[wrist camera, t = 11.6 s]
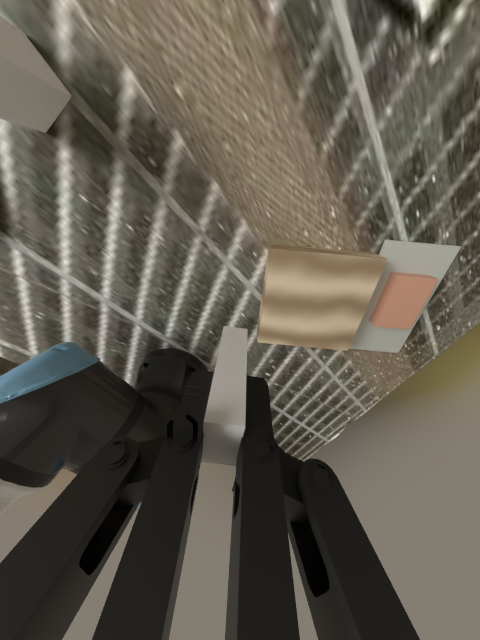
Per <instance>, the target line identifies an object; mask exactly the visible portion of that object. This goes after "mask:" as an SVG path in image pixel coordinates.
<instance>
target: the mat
mask: <svg viewBox="0 0 480 640" xmlns="http://www.w3.org/2000/svg"><path fill="white" fill-rule="evenodd" d="M460 248H461V247H460V246H451V245H440V244H429V243H418V242H407V241H396V240H385V241H384V243H383V246H382V248H381V251H380V253H379V255H380V256H382V257H384V258H387V259H388V260H387V262H386V264H385V267H384V269H383V271H382V273H381V276H380V278H379V280H378V283H377V285H376V287H375V290H374V292H373V294H372V297H371V299H370V301H369V304H368V306H367V308H366V311H365V313H364V315H363V317H362V320H361V322H360V324H359V327H358V329H357V331H356V334H355V336H354V338H353V341H352V343H351V345H350V349H361V350H372V351H382V352H393V353H399V351H400V350H401V348H402V346H403V345H404V343H405V341H406V339H407V338H408V336H409V334H410V333H411V331H412V329H413V328H414V326H415V324H416V323H417V321H418V319H419V317H420V316H421V314H422V312H423V311H424V309H425V307H426V306H427V304H428V302H429V301H430V299H431V297H432V295H433V294H434V292H435V290H436V289H437V287H438V285H439V284H440V282H441V280H442V279H443V277H444V275H445V274H446V272H447V270H448V268H449V267H450V265H451V263H452V262H453V260H454V258H455V257H456V255H457V253H458V252H459V250H460ZM391 272H401V273H412V274H423V275H430V276H433V277H435V278H437V279H439V280H438V282H437V284H436V285H435V287H434V289H433V290H432V292H431V294H430V296H429V297H428V299H427V301H426V302H425V304H424V306H423V308H422V309H421V311H420V313H419V314H418V316H417V318H416V320H415V321H414V323H413V325H412V327H411V328H410V330H409V329H398V328H387V327H376V326H374V325H373V324H372V323H371V322H370V321H369V320H370V317H371V315H372V313H373V311H374V309H375V306H376V304H377V302H378V300H379V297H380V295H381V293H382V291H383V289H384V286H385V284H386V282H387V280H388V278H389V275H390V273H391Z"/></svg>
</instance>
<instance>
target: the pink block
mask: <svg viewBox="0 0 480 640" xmlns="http://www.w3.org/2000/svg"><path fill="white" fill-rule="evenodd" d="M438 280H439V279H437V278H435V277H433V276H430V275H423V274H412V273H401V272H391V273H390V275H389V278H388V280H387V282H386V284H385V286H384V289H383V291H382V293H381V295H380V297H379V300H378V302H377V304H376V306H375V309H374V311H373V313H372V315H371V317H370V320H369V321H370V322H371V323H372V324H373V325H374V326H376V327H387V328H398V329H409V330H410V328H411V327H412V325H413V323H414V321H415V320H416V318H417V316H418V314H419V313H420V311H421V309H422V308H423V306H424V304H425V302H426V301H427V299H428V297H429V296H430V294H431V292H432V290H433V289H434V287H435V285H436V284H437V282H438Z"/></svg>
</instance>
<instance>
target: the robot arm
mask: <svg viewBox="0 0 480 640" xmlns="http://www.w3.org/2000/svg"><path fill="white" fill-rule="evenodd" d="M99 360H100V358H98V357H95V356H93V355H92V354H90V353H89V352H88V351H86V350H85V349H84V348H82V347H81V346H79V345H78V344H75V343H72V342H64V343H60V344H57V345H55V346H53V347H51V348H49V349H48V350H46V351H44V352H42V353H41V354H39V355H37V356H35V357H33V358H32V359H30V360H28V361H26V362H25V363H23V364H21V365H19V366H18V367H16V368H14V369H12V370H11V371H9V372H7V373H5V374H4V375H2V376H0V516H1V514H3V513H4V511H5V510H6V509H7V508H8V507H9V506H10V505H11V504H12V503H13V502H14V501H15V500H16V499H17V498H19V497H21V496H24V495H27V494H30V493H33V492H37V491H40V490H42V489H44V488H45V487H46V486H47V485H48V484H49V483H50V482H51V481H52V480H53V479H54V478H55V476H56V475H57V474H58V473H59V472H60V471H61V470H62V469H67V470H69V471H71V472H73V473H75V474H77V476H76V477H75V478H74V479H73V480H72V482H71V483H70V484H69V485H68V486H67V487H66V489H65V490H64V491H63V492H62V493H61V494H60V495H59V497H58V498H57V499H56V500H55V501H54V502H53V503H52V505H51V506H50V507H49V508H48V509H47V510H46V512H45V513H44V514H43V515H42V516H41V517H40V518H39V519H38V521H37V522H36V523H35V524H34V525H33V526H32V527H31V529H30V530H29V531H28V532H27V533H26V534H25V536H24V537H23V538H22V539H21V540H20V541H19V543H18V544H17V545H16V546H15V547H14V548H13V550H11V552H10V553H9V554H8V555H7V556H6V557H5V559H4V560H3V561H2V562H1V563H0V640H62V638H63V637H64V635H65V633H66V631H67V630H68V628H69V626H70V624H71V623H72V621H73V619H74V617H75V615H76V614H77V612H78V610H79V609H80V607H81V605H82V603H83V602H84V600H85V598H86V596H87V595H88V593H89V591H90V589H91V588H92V586H93V584H94V582H95V581H96V579H97V577H98V575H99V574H100V572H101V570H102V568H103V567H104V565H105V563H106V561H107V560H108V558H109V556H110V554H111V552H112V551H113V549H114V547H115V546H116V544H117V542H118V540H119V539H120V537H121V535H122V533H123V532H124V530H125V528H126V526H127V525H128V523H129V521H130V519H131V518H132V516H133V514H134V512H135V511H136V509H139V511H138V514H137V516H136V519H135V522H134V525H133V527H132V530H131V533H130V536H129V538H128V541H127V544H126V547H125V549H124V552H123V555H122V558H121V561H120V563H119V566H118V569H117V572H116V574H115V577H114V580H113V583H112V586H111V589H110V591H109V594H108V597H107V600H106V602H105V605H104V608H103V611H102V613H101V616H100V619H99V622H98V625H97V627H96V630H95V633H94V636H93V638H92V640H169V634H170V629H171V623H172V618H173V613H174V608H175V602H176V596H177V591H178V585H179V581H180V575H181V570H182V564H183V559H184V553H185V548H186V543H187V537H188V532H189V526H190V520H191V515H192V510H193V505H194V499H195V494H196V489H197V483H198V475H199V469H200V463H201V462H209V463H218V464H226V465H235V466H236V477H235V481H234V485H233V489H232V491H233V492H234V496H233V513H232V530H231V548H230V565H229V581H228V598H227V615H226V633H225V640H300V637H299V629H298V619H297V610H296V601H295V593H294V584H293V575H292V566H291V557H290V548H289V540H288V533H289V537H290V541H291V544H292V548H293V551H294V555H295V558H296V562H297V565H298V569H299V573H300V576H301V580H302V583H303V587H304V590H305V594H306V597H307V601H308V604H309V608H310V612H311V615H312V618H313V622H314V626H315V629H316V633H317V637H318V640H420V639H419V637H418V635H417V633H416V631H415V629H414V627H413V626H412V624H411V621H410V619H409V617H408V615H407V613H406V611H405V609H404V607H403V606H402V603H401V602H400V599H399V598H398V596H397V594H396V592H395V590H394V588H393V586H392V584H391V582H390V580H389V578H388V576H387V574H386V572H385V570H384V568H383V566H382V564H381V562H380V560H379V558H378V556H377V554H376V552H375V550H374V548H373V547H372V545H371V543H370V541H369V539H368V537H367V535H366V533H365V531H364V529H363V527H362V525H361V523H360V521H359V519H358V517H357V515H356V513H355V511H354V509H353V507H352V505H351V503H350V501H349V499H348V497H347V495H346V494H345V492H344V490H343V488H342V486H341V484H340V482H339V480H338V478H337V476H336V475H335V473H334V472H333V470H332V469H331V468H330V467H329V466H328V465H327V464H326V463H324V462H322V461H320V460H318V459H308V460H306V461H305V462H303V461H300V460H298V459H296V458H294V457H292V456H290V455H288V454H287V453H285V452H284V451H283V450H282V449H281V448H280V447H279V446H278V445H277V443H276V441H275V439H274V436H273V429H272V419H271V409H270V399H269V389H268V385H267V383H266V381H265V380H264V378H260V377H252V376H246V371H247V329H242V328H235V327H228V326H224V328H223V333H222V338H221V342H220V347H219V352H218V356H217V361H216V366H215V371H214V372H209V371H207V370H206V368H205V367H204V365H203V364H202V363H201V362H200V361H199V360H198V359H197V358H196V357H194V356H192V355H191V354H189V353H187V352H184V351H181V350H177V349H160V350H156V351H154V352H152V353H150V354H149V355H147V356H146V358H145V359H144V360H143V362H142V363H141V365H140V367H139V369H138V372H137V377H136V382H135V387H134V388H133V387H131V386H130V385H129V384H128V383H127V382H125V381H124V380H123V379H122V378H120V377H119V376H118V375H117V374H115V373H114V372H113V371H112V370H110V369H109V368H108V367H107V366H106V365H104V364H103V363H102V362H101V361H99ZM236 463H237V465H236Z"/></svg>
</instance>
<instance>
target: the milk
mask: <svg viewBox="0 0 480 640" xmlns="http://www.w3.org/2000/svg"><path fill="white" fill-rule="evenodd" d="M71 97H72V96H71V94H70V93H69V92H68V90H67V89H66V88H65V86H64V85H63V84H62V82H61V81H60V80H59V79H58V77H57V76H56V75H55V73H54V72H53V71H52V69H51V68H50V67H49V65H48V64H47V63H46V61H45V60H44V59H43V57H42V56H41V55H40V53H39V52H38V51H37V49H36V48H35V47H34V45H33V44H32V43H31V41H30V40H29V39H28V38H27V36H26V35H25V34H24V33H23V32H21V31H20V30H19V29H17V28H16V27H15V26H13V25H12V24H11V23H9V22H8V21H7V20H5V19H4V18H2V17H1V16H0V118H1V119H4V120H7V121H10V122H13V123H16V124H19V125H23V126H26V127H29V128H32V129H35V130H38V131H41V132H44V133H46V132H47V131H48V130H49V128H50V127H51V126H52V124H53V123H54V121H55V120H56V119H57V117H58V116H59V114H60V113H61V112H62V110H63V109H64V107H65V106H66V105H67V103H68V102H69V100H70V99H71Z"/></svg>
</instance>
